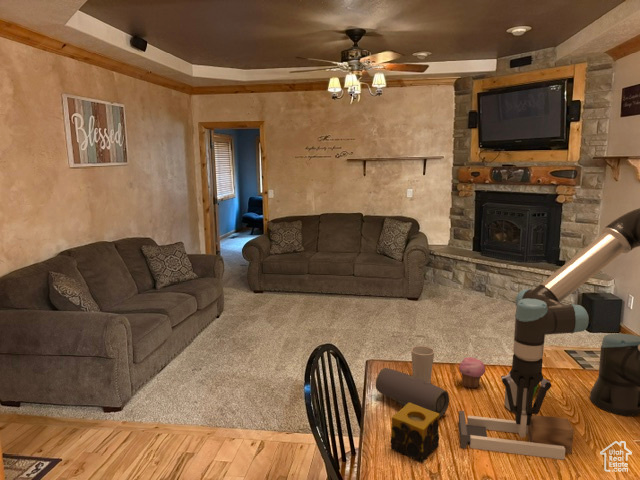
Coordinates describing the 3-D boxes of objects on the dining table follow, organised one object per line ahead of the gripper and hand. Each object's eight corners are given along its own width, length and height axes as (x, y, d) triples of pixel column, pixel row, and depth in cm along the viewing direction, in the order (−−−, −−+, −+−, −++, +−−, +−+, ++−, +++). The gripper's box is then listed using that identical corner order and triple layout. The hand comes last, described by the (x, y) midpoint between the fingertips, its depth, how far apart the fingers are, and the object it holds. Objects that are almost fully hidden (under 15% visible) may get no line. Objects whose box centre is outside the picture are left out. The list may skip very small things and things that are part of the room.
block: (565, 441, 136) (567, 418, 135) (571, 453, 130) (573, 430, 129) (527, 436, 138) (529, 414, 137) (532, 449, 132) (533, 425, 131)
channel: (553, 434, 139) (554, 424, 139) (564, 459, 128) (565, 449, 127) (467, 424, 144) (467, 415, 144) (470, 448, 133) (470, 438, 132)
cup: (406, 378, 174) (407, 347, 172) (425, 375, 176) (426, 344, 174) (417, 388, 167) (418, 356, 164) (437, 385, 169) (438, 353, 167)
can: (531, 415, 149) (534, 379, 147) (506, 413, 150) (508, 377, 148) (526, 403, 156) (529, 369, 154) (502, 401, 158) (504, 367, 156)
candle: (407, 432, 140) (408, 401, 139) (439, 445, 134) (441, 413, 132) (389, 449, 133) (390, 416, 131) (422, 464, 126) (423, 429, 125)
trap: (484, 425, 144) (485, 413, 143) (489, 451, 131) (490, 438, 131) (458, 422, 145) (459, 410, 145) (460, 447, 133) (461, 434, 132)
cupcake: (460, 377, 175) (462, 351, 173) (485, 382, 171) (487, 356, 169) (455, 388, 167) (457, 361, 165) (482, 393, 163) (483, 366, 161)
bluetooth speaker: (449, 414, 150) (451, 384, 148) (433, 426, 144) (434, 395, 142) (391, 389, 166) (391, 362, 164) (374, 399, 160) (374, 371, 158)
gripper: (550, 352, 133) (543, 430, 137) (500, 348, 136) (495, 424, 140) (556, 363, 126) (549, 445, 130) (504, 359, 129) (499, 439, 133)
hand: (521, 434), depth 135 cm, fingers closed
